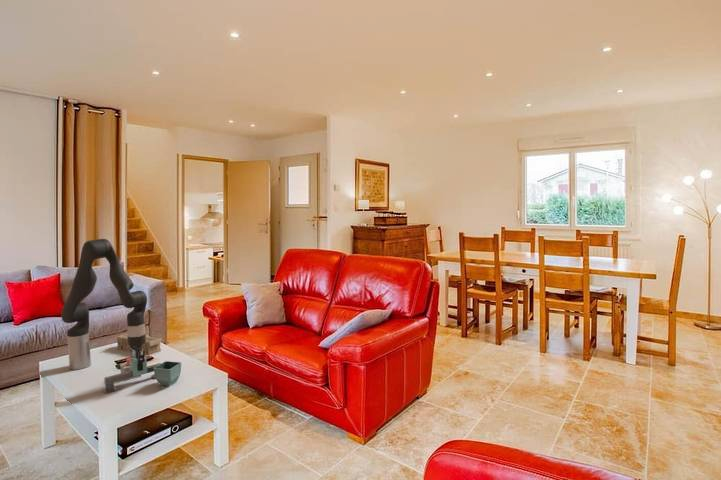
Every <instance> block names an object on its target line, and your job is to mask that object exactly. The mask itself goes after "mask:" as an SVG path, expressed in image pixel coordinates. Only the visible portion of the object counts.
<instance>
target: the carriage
mask: <svg viewBox="0 0 721 480" xmlns="http://www.w3.org/2000/svg"><path fill="white" fill-rule="evenodd" d="M131 358H132V357H131ZM140 360H141V359H140ZM129 363H130V371H132V372H133V377H134V376H137V375H141V374H143V375H146V374H148V373H147V366H148V364H147V363H148V361H147V358H146V357H145V362H143V370H142V371H138V369H137V359H135V358H132V359H129ZM145 373H146V374H145ZM141 376H142V375H141Z"/></svg>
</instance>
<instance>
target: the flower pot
mask: <svg viewBox="0 0 721 480" xmlns="http://www.w3.org/2000/svg"><path fill="white" fill-rule="evenodd" d="M160 363H161V362H160ZM181 370H182V362H181V361H169V360H165V361H163V362H162V363H161V364H160V365H158V366H156V367H155V368H154V373H155V377H156V379H155V380H156V381H157V383H158V384H160V386H166V387H167V386H168V387H169V386H172V385H174V384H175V383H176V382H177V381H178V380H179V378H180V375H181Z"/></svg>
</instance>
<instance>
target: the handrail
mask: <svg viewBox="0 0 721 480" xmlns="http://www.w3.org/2000/svg"><path fill="white" fill-rule="evenodd" d="M160 364H161V362H159V363H156V364H151V365H147V373H145V374H141V376H143V375H146V374H150V373H152V372H154V368H155V367H156V366H158V365H160ZM137 376H139V375H137ZM132 377H133V372H132V371H128V372H124V373H121V372H120V373H116V374H114V375H110V376H106V377H104V378H103V379H104V388H102V389H101V391H102V392H103V393H104V395H106V394H109V393H112V392H116V391H118V387H116V386H115V384H114V383H116V382H117V383H118V382H120V381H123V380H124V379H128V378H132ZM134 377H135V376H134ZM151 378H153V379H154V380H156V377H155V373H154V374H151ZM124 381H125V380H124Z"/></svg>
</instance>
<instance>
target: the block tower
mask: <svg viewBox="0 0 721 480" xmlns="http://www.w3.org/2000/svg"><path fill="white" fill-rule="evenodd" d="M116 340H117V341H116V342H117V349H118V350H120V351H121V350H123V351H126V352H130V353H131V347H130V346H129V345H128V337H127V332H126V333H123V334H119V335H118V336H117V337H116ZM162 342H163V341H162V338H160V337H153V336H147V335H146V342H145V343H144V344H142V347H143V351H145V354H146V355H147V356H151V355H153V354H156V353H159V352H161V351H162V350H161V344H162ZM146 355H145V356H146Z"/></svg>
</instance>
